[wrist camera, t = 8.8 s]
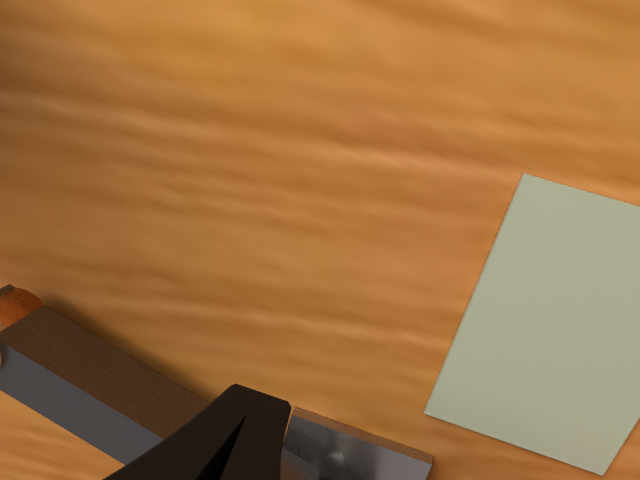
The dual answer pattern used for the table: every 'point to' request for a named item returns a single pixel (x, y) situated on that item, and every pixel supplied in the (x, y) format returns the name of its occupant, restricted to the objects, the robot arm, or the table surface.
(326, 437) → the pivot plate
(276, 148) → the table surface
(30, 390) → the grey copper-tipped rod
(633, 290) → the plate
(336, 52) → the table surface
